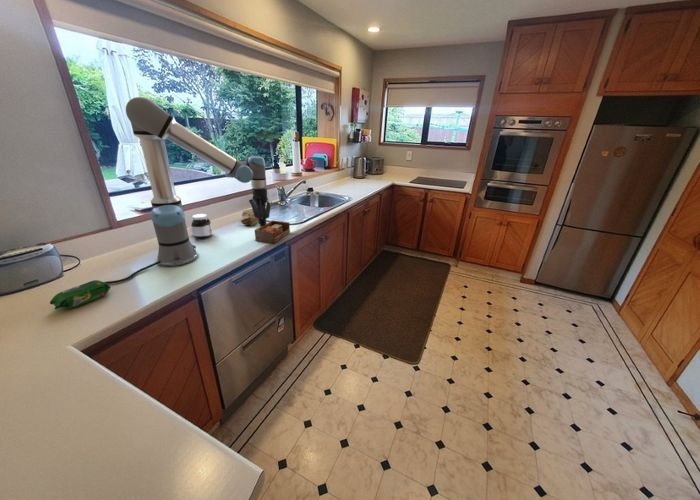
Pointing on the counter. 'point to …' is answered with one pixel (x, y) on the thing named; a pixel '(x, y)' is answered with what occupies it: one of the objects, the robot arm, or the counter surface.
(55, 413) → the counter surface
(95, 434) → the counter surface
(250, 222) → the sponge
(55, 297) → the snack package
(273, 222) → the wooden box
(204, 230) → the spread jar
